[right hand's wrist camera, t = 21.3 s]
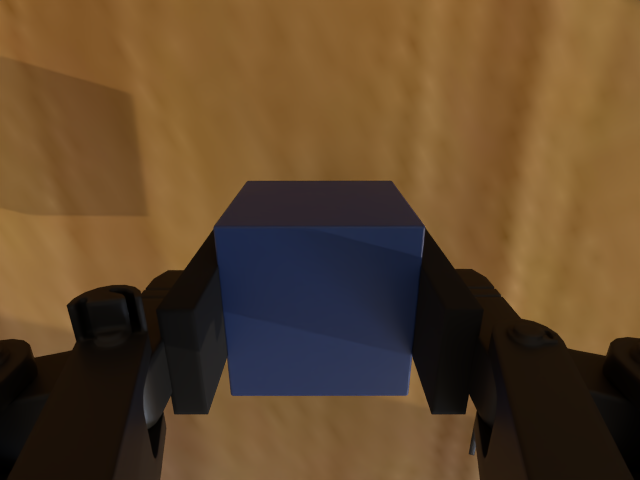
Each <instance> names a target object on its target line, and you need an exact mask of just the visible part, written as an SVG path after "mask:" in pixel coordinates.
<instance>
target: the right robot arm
mask: <svg viewBox="0 0 640 480" xmlns="http://www.w3.org/2000/svg"><path fill="white" fill-rule="evenodd" d="M67 308H68V312H69V316H70V319H71V323H72V327H73V330H74V334H75V338H76V341H77V342H76V344H75V346H74V348H73V350H71V351H67V352H62V353H57V354H52V355H46V356H41V357H36V358H34V356H33V353H32V350H31V347H30V345H29V344H28V343H27V342H25V341H24V340H16V339H8V340H0V480H160V477H161V468H162V460H163V452H164V444H165V435H166V423H165V417H164V412H163V411H164V409H165V407H166V404H167V402H168V400H169V398H170V396H171V398H172V404H173V410H174V414H208V413H209V410H210V407H211V404H212V401H213V398H214V395H215V392H216V389H217V386H218V383H219V380H220V377H221V374H222V371H223V368H224V365H225V362H226V359H227V356H228V355H227V345H226V336H225V326H224V317H223V307H222V297H221V288H220V278H219V269H218V265H217V257H216V248H215V238H214V229H213V231H212V232H211V233H210V235H209V236H208V238H207V239H206V240H205V242H204V243H203V245H202V246H201V247H200V249H199V250H198V252H197V253H196V254H195V256H194V257H193V259H192V260H191V261H190V263H189V264H188V265H187V267H186V268H185V270H168V271H166V272H165V273H163V274H161V275H159V276H158V277H156V278H154V279H153V280H152V282H151V283H150V284H149V285H148V286H147V288H146V290H144V291H143V292H142V293H141V291H140V290H138V289H137V288H136V287H133V286H128V285H111V286H105V287H100V288H96V289H93V290H91V291H88V292H85V293H83V294H81V295H79V296H77V297H76V298H74V299H73V300H72V301H71V302H70V303H69V304H68V305H67ZM412 357H413V360H414V363H415V366H416V369H417V372H418V375H419V378H420V381H421V384H422V387H423V390H424V393H425V396H426V399H427V402H428V405H429V408H430V411H431V414H466V408H467V402H468V397H469V395H470V397H471V399H472V401H473V403H474V405H475V407H476V409H477V412H476V417H475V423H474V428H473V433H472V438H471V444H470V450H469V454H470V455H474V454H475V449H476V451H477V459H478V467H479V476H480V480H640V338H631V337H625V338H617V339H615V340H614V341H612V342H611V343H610V346H609V349H608V352H607V355H606V356H603V355H598V354H593V353H587V352H582V351H577V350H572V349H568V348H567V347H566V345H565V343H564V341H563V340H562V339H561V338H560V336H559V335H558V334H557V333H556V332H554V331H553V330H551V329H549V328H548V327H546V326H544V325H541V324H539V323H536V322H534V321H529V320H525V319H521V318H520V317H519V316H518V315H517V313H516V312H515V311H514V310H513V309H512V307H511V306H510V305H509V304H508V303H507V302H506V300H505V299H504V298H503V297H501V294H500V293H499V292H498V291H497V290H496V289H494V286H493V285H492V284H491V283H490V281H489V280H488V279H487V278H486V277H485V276H483V275H481V274H479V273H478V272H476V271H474V270H473V269H454V267H453V266H452V265H451V263H450V262H449V260H448V259H447V258H446V256H445V255H444V253H443V252H442V251H441V249H440V248H439V246H438V245H437V244H436V242H435V241H434V239H433V238H432V237H431V235H430V234H429V232H428V231H427V230H426V228H425V236H424V246H423V256H422V265H421V273H420V283H419V292H418V302H417V312H416V322H415V331H414V341H413V351H412Z"/></svg>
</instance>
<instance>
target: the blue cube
mask: <svg viewBox="0 0 640 480" xmlns="http://www.w3.org/2000/svg"><path fill="white" fill-rule="evenodd" d="M213 229H214V238H215V248H216V257H217V265H218V269H219V278H220V288H221V297H222V307H223V317H224V326H225V336H226V345H227V355H228V356H227V361H228V371H229V380H230V390H231V395H232V396H406V395H408V391H409V382H410V372H411V362H412V351H413V341H414V331H415V322H416V312H417V302H418V292H419V283H420V273H421V265H422V256H423V246H424V236H425V226H424V224H423V223H422V222H421V220H420V219H419V218H418V216H417V215H416V213H415V212H414V211H413V209H412V208H411V207H410V205H409V204H408V203H407V201H406V200H405V198H404V197H403V196H402V194H401V193H400V192H399V190H398V189H397V188H396V186H395V185H394V183H393V182H392V181H247V182H246V184H245V185H244V186H243V188H242V189H241V190H240V192H239V193H238V194H237V196H236V197H235V198H234V200H233V201H232V203H231V204H230V205H229V207H228V208H227V209H226V211H225V212H224V213H223V215H222V216H221V217H220V219H219V220H218V222H217V223H216V224H215V226H214V228H213Z"/></svg>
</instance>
